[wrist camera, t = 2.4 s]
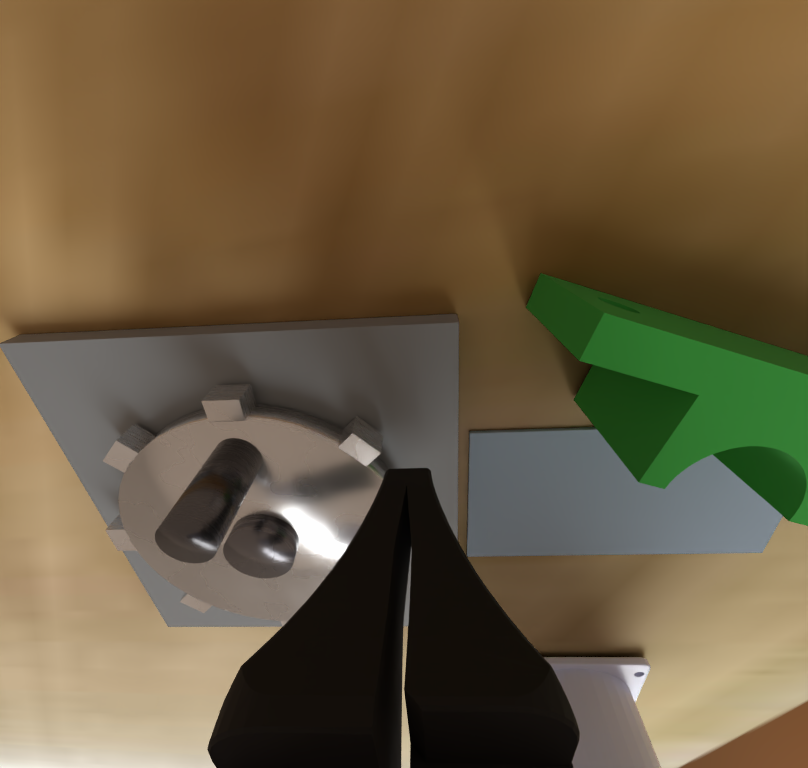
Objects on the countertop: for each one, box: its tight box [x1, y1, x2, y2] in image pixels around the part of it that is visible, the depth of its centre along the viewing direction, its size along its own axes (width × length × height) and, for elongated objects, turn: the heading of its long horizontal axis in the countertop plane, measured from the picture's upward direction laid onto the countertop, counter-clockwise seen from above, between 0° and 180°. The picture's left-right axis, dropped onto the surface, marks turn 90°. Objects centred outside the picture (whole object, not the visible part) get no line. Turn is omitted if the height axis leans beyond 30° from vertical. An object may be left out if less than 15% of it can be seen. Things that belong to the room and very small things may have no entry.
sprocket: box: [103, 384, 388, 627], centre depth 14 cm, size 12×12×4 cm
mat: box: [467, 427, 783, 557], centre depth 16 cm, size 7×13×1 cm, turn 94°
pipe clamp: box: [526, 273, 808, 526], centre depth 12 cm, size 11×4×5 cm, turn 74°
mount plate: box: [0, 314, 459, 627], centre depth 17 cm, size 16×15×1 cm
